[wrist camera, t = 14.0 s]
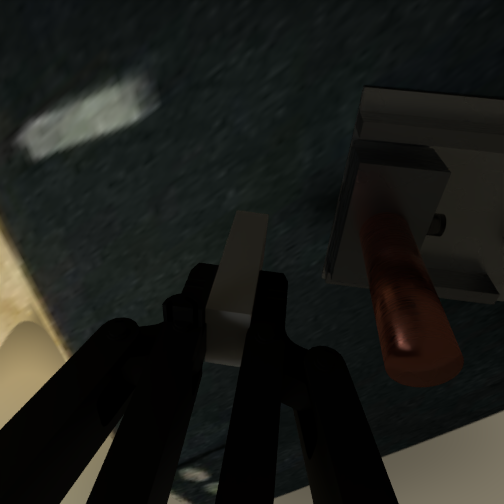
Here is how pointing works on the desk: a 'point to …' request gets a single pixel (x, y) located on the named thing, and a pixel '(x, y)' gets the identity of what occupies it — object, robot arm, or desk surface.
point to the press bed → (449, 181)
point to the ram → (396, 256)
